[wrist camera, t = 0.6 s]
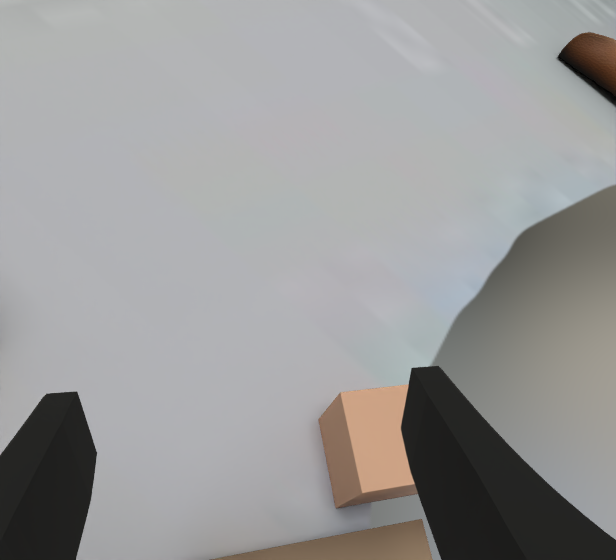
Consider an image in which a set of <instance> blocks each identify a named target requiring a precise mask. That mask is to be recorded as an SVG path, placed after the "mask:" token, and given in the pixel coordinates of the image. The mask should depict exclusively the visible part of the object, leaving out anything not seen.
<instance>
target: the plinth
mask: <svg viewBox="0 0 616 560" xmlns="http://www.w3.org/2000/svg"><path fill="white" fill-rule="evenodd" d="M211 560H432V556H431V552H430V548H429V544H428V541H427V537H426V533H425V529H424V525H423V521H422V519H419V520H414V521H409V522H404V523H399V524H393V525H388V526H383V527H378V528H373V529H367V530H362V531H357V532H352V533H346V534H341V535H336V536H331V537H326V538H320V539H315V540H310V541H305V542H300V543H294V544H289V545H284V546H279V547H274V548H268V549H263V550H258V551H253V552H248V553H243V554H237V555H232V556H227V557H222V558H217V559H211Z"/></svg>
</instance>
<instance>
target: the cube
mask: <svg viewBox="0 0 616 560" xmlns="http://www.w3.org/2000/svg"><path fill="white" fill-rule="evenodd" d="M408 386H409V385H400V386H392V387H383V388H375V389H366V390H357V391H349V392H340V393H339V395H338V396H337V397H336V398H335V400H334V401H333V402H332V403H331V405H330V406H329V407H328V408H327V410H326V411H325V412H324V413H323V415H322V416H321V417H320V418H319V425H320V430H321V435H322V440H323V445H324V450H325V455H326V460H327V466H328V471H329V476H330V481H331V486H332V491H333V496H334V502H335V507H336V508H341V507H347V506H352V505H358V504H364V503H369V502H376V501H381V500H387V499H392V498H398V497H404V496H409V495H415V494H418V492H417V489H416V486H415V483H414V480H413V478H412V475H411V472H410V468H409V463H408V459H407V455H406V451H405V446H404V442H403V437H402V432H401V423H402V418H403V412H404V407H405V402H406V396H407V391H408Z"/></svg>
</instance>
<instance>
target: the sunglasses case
mask: <svg viewBox="0 0 616 560" xmlns="http://www.w3.org/2000/svg"><path fill="white" fill-rule="evenodd" d="M558 57H560V58H561V59H563V60H564V61H565V62H567V63H568V64H570V65H571V66H573V67H574V68H575V69H577V70H578V71H580V72H581V73H583V74H584V75H585V76H587V77H588V78H590V79H592V80H594V81H595V82H596V83H597V84H598V85H600V86H601V87H603V88H604V89H606V90H608V91H610V92H611V93H612V94H613V95H614V96H615V97H616V40H614V39H612V38H609V37H606V36H603V35H599V34H595V33H591V32H588V33H582V34H580V35H578V36H576V37H575V38H573V39H572V40H571V41H570V42H569V43H568V44H567V45H566V46H565V47H564V48H563V50H562V51H561V53H560V54H559V56H558Z"/></svg>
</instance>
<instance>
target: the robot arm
mask: <svg viewBox="0 0 616 560" xmlns="http://www.w3.org/2000/svg"><path fill="white" fill-rule="evenodd" d="M401 432H402V437H403V442H404V446H405V451H406V455H407V459H408V463H409V468H410V472H411V475H412V478H413V480H414V483H415V486H416V489H417V492H418V495H419V497H420V501H421V503H422V506H423V509H424V512H425V515H426V517H427V520H428V523H429V526H430V529H431V531H432V534H433V537H434V540H435V543H436V545H437V548H438V551H439V554H440V556H441V559H442V560H616V540H615V539H614V538H612V537H611V536H610V535H608V534H607V533H606V532H604V531H603V530H602V529H601V528H599V527H598V526H597V525H596V524H594V523H593V522H592V521H590V519H588V518H587V517H586V516H584V515H583V514H582V513H581V512H580V511H579V510H578V509H576V508H575V507H574V506H573V505H572V504H570V503H569V502H568V501H567V500H566V499H565V498H563V497H562V496H561V495H560V494H559V493H558V492H557V491H556V490H554V489H553V488H552V487H551V486H550V485H549V484H548V483H547V482H546V481H545V480H544V479H543V478H542V477H541V476H539V475H538V474H537V473H536V472H535V471H534V470H533V469H532V468H531V467H530V466H529V465H528V464H527V463H526V462H525V461H524V460H523V459H522V458H521V457H520V456H519V455H518V454H517V453H516V452H515V451H514V450H513V449H512V448H511V447H510V446H509V445H508V444H507V443H506V442H505V440H504V439H503V438H502V437H501V436H500V435H499V434H498V433H497V432H496V431H495V430H494V429H493V428H492V427H491V426H490V424H489V423H488V422H487V421H486V420H485V419H484V418H483V417H482V416H481V415H480V413H479V412H478V411H477V410H476V409H475V408H474V407H473V405H472V404H471V403H470V402H469V401H468V400H467V399H466V397H465V396H464V395H463V394H462V393H461V392H460V390H459V389H458V388H457V387H456V386H455V384H454V383H453V382H452V381H451V380H450V379H449V377H448V376H447V375H446V374H445V373H444V371H443V370H442V369H441V368H440V367H439V366H432V367H418V368H412V370H411V375H410V380H409V386H408V391H407V396H406V402H405V407H404V412H403V418H402V423H401ZM96 456H97V452H96V449H95V446H94V443H93V439H92V436H91V433H90V430H89V427H88V424H87V421H86V418H85V414H84V411H83V408H82V405H81V402H80V399H79V396H78V393H77V392H64V393H50V394H46V395H45V396H44V397H43V398H42V399H41V401H40V402H39V404H38V405H37V406H36V408H35V409H34V410H33V412H32V413H31V415H30V416H29V417H28V419H27V420H26V421H25V423H24V424H23V426H22V427H21V428H20V430H19V431H18V432H17V434H16V435H15V436H14V438H13V439H12V440H11V442H10V443H9V444H8V446H7V447H6V448H5V450H4V451H3V452H2V454H1V455H0V560H76V556H77V552H78V549H79V545H80V541H81V537H82V533H83V529H84V525H85V521H86V517H87V513H88V509H89V505H90V501H91V495H92V488H93V481H94V473H95V465H96Z"/></svg>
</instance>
